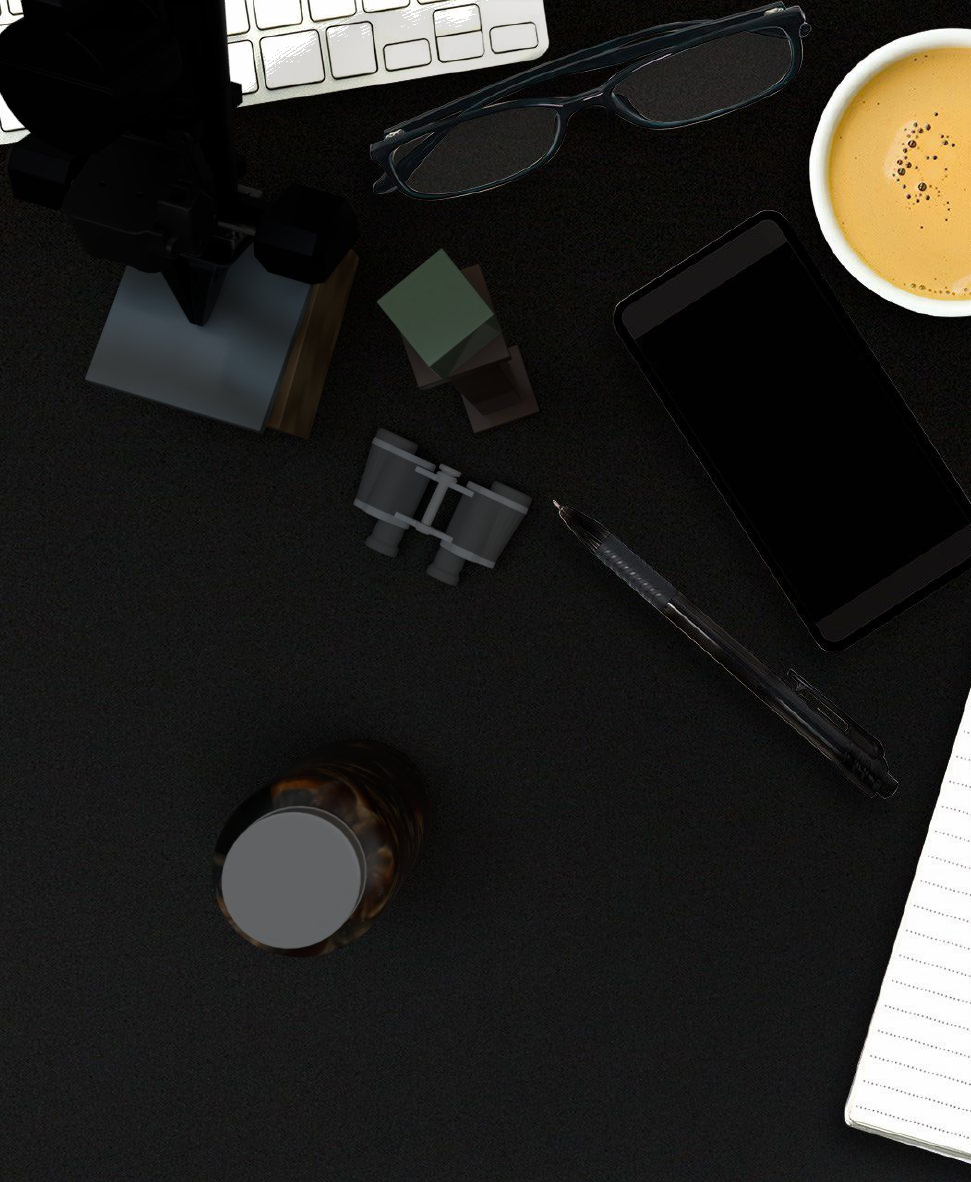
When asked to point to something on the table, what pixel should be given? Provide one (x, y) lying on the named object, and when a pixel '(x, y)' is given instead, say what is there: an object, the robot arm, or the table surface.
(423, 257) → the table surface
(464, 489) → the binoculars
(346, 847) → the jar
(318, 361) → the box
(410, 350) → the pillar
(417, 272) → the cube
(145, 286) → the lid
